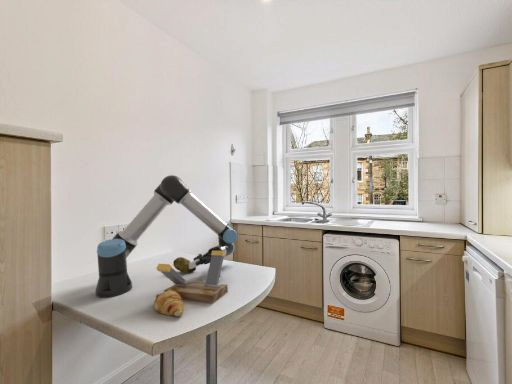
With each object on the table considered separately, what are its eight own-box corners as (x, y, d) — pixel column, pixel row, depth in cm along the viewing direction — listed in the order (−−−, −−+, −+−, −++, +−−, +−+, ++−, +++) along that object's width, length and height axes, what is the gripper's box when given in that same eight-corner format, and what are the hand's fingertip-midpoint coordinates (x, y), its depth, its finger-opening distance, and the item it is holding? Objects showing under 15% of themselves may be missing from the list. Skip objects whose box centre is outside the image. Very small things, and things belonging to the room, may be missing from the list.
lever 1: (176, 280, 118) (157, 263, 108) (188, 281, 116) (170, 264, 106) (174, 285, 117) (155, 268, 107) (186, 286, 115) (167, 269, 104)
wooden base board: (182, 286, 123) (182, 279, 123) (227, 291, 114) (227, 284, 114) (164, 297, 112) (164, 289, 112) (213, 303, 103) (212, 294, 103)
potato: (185, 276, 139) (184, 261, 139) (171, 272, 147) (170, 258, 147) (198, 271, 146) (197, 257, 146) (183, 268, 154) (182, 254, 153)
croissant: (189, 324, 94) (197, 302, 96) (164, 321, 88) (173, 297, 90) (164, 306, 110) (172, 287, 112) (142, 302, 104) (150, 282, 106)
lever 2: (206, 287, 112) (213, 252, 119) (219, 288, 109) (226, 252, 116) (203, 286, 110) (211, 250, 117) (216, 287, 107) (223, 250, 114)
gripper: (227, 260, 142) (202, 274, 120) (207, 259, 147) (179, 272, 125) (226, 246, 142) (201, 258, 120) (206, 246, 147) (178, 257, 125)
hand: (190, 265), depth 123 cm, fingers closed
